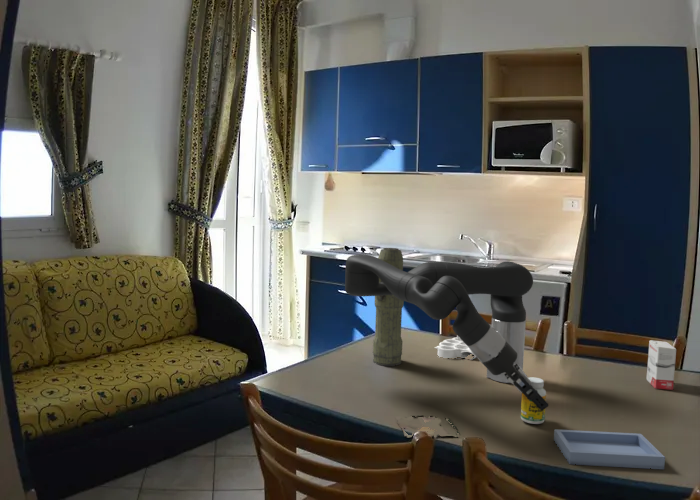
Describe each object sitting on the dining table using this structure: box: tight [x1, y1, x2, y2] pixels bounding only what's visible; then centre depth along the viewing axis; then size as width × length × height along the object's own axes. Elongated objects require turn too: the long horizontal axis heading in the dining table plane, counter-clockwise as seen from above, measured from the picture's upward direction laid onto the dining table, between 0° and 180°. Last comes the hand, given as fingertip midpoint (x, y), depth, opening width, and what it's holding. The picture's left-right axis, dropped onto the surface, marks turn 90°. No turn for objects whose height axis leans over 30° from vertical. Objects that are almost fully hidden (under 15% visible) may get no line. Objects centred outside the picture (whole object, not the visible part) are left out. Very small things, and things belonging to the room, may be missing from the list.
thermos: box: [372, 247, 405, 367], centre depth 179 cm, size 9×12×35 cm
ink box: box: [646, 339, 677, 391], centre depth 165 cm, size 9×5×12 cm, turn 168°
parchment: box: [401, 415, 460, 438], centre depth 132 cm, size 12×13×1 cm
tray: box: [553, 429, 666, 470], centre depth 120 cm, size 18×11×2 cm, turn 86°
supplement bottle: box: [520, 376, 547, 425], centre depth 136 cm, size 5×5×10 cm
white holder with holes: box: [433, 336, 477, 361], centre depth 193 cm, size 3×18×15 cm
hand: (541, 402), depth 135 cm, fingers closed on supplement bottle, 5 cm apart
